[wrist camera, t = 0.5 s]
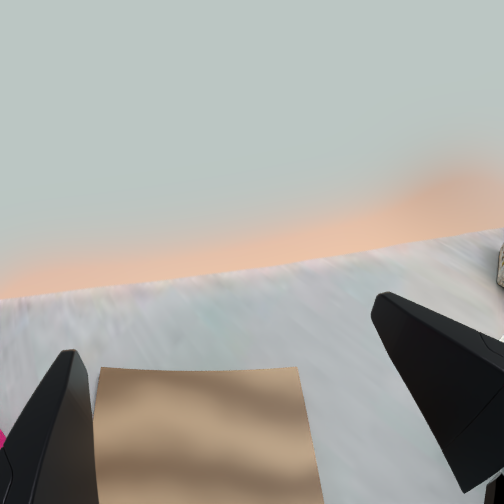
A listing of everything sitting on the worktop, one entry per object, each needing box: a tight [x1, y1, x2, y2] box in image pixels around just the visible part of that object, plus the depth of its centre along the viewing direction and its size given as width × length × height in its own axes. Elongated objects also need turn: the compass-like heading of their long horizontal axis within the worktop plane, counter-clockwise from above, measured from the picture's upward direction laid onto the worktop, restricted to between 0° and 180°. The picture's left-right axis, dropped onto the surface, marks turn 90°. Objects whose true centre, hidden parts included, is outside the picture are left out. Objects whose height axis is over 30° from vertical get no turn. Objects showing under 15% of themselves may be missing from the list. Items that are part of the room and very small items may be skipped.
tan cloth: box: [93, 367, 324, 504], centre depth 17 cm, size 18×16×1 cm
